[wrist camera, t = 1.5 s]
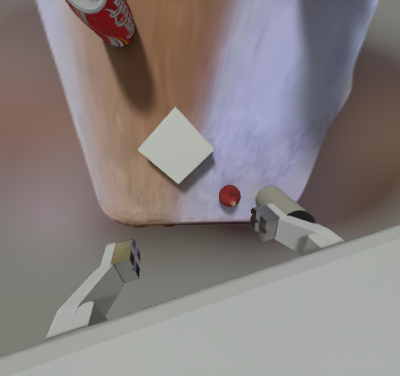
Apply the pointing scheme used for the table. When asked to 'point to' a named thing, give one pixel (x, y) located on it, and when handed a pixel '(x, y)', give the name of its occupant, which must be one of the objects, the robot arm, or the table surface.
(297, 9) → the table surface
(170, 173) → the grey block
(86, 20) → the soda can
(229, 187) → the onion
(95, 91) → the table surface
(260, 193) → the travel mug
